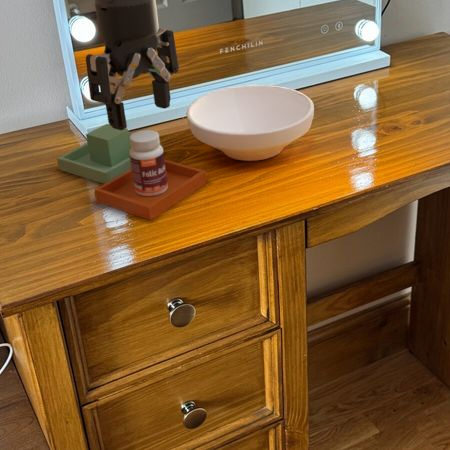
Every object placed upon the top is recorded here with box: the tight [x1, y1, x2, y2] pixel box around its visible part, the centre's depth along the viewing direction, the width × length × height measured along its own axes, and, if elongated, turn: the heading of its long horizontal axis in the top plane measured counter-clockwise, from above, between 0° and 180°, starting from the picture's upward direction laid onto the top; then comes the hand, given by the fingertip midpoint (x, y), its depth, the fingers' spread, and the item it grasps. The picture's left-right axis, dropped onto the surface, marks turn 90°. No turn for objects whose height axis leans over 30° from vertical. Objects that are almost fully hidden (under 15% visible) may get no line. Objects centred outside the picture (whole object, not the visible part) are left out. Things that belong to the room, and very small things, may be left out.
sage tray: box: [56, 132, 163, 185], centre depth 118 cm, size 12×10×2 cm
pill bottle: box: [129, 129, 168, 196], centre depth 107 cm, size 5×5×8 cm
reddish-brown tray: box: [94, 159, 208, 221], centre depth 109 cm, size 12×10×2 cm
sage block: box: [85, 123, 131, 167], centre depth 118 cm, size 4×4×4 cm
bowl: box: [185, 84, 315, 162], centre depth 119 cm, size 20×20×7 cm
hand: (141, 117), depth 104 cm, fingers open, 8 cm apart
